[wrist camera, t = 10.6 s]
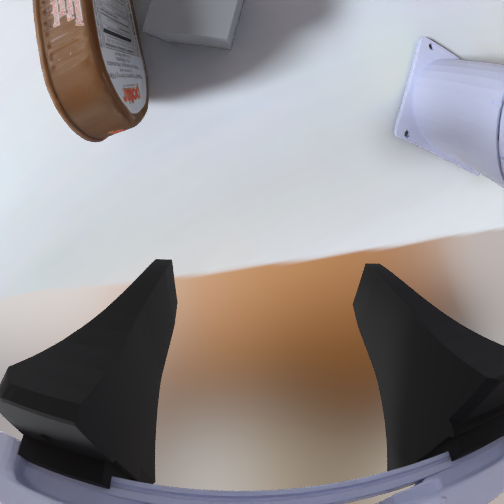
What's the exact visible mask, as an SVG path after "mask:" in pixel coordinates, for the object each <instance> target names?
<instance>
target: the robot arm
mask: <svg viewBox="0 0 504 504" xmlns="http://www.w3.org/2000/svg"><path fill="white" fill-rule="evenodd" d="M429 44H430V45H431V46H432V49H430V48H429ZM405 131H408V135H407V136H406V137H405V135H404V134H405ZM394 134H395V136H396V137H398V138H400V139H403V140H405V141H407V142H410V143H412V144H414V145H417V146H419V147H421V148H423V149H425V150H428V151H430V152H432V153H434V154H436V155H438V156H440V157H442V158H444V159H446V160H448V161H450V162H452V163H454V164H456V165H458V166H460V167H462V168H464V169H466V170H467V171H469V172H471V173H473V174H475V175H479V174H480V173H481V174H482V175H484V176H486V177H487V178H489V179H490V180H492V181H494V182H495V183H497V184H498V185H500V186H501V187H503V188H504V65H501V64H494V63H486V62H477V61H466V60H461V59H460V58H458V57H457V56H455V55H454V54H452V53H451V52H449V51H448V50H446V49H445V48H443V47H442V46H440V45H438V44H437V43H435V42H433V41H432V40H430V39H429V38H427V37H420V38H419V39H418V43H417V47H416V51H415V55H414V59H413V63H412V67H411V71H410V75H409V79H408V82H407V86H406V89H405V93H404V97H403V100H402V103H401V107H400V110H399V113H398V117H397V120H396V123H395V126H394ZM353 307H354V311H355V316H356V320H357V324H358V327H359V330H360V333H361V336H362V338H363V341H364V343H365V346H366V349H367V351H368V354H369V357H370V360H371V362H372V365H373V368H374V371H375V374H376V377H377V381H378V385H379V390H380V395H381V400H382V406H383V412H384V419H385V428H386V437H387V463H388V464H387V472H384V473H380V474H376V475H372V476H368V477H364V478H359V479H354V480H349V481H343V482H338V483H332V484H326V485H319V486H311V487H303V488H293V489H281V490H262V491H218V490H199V489H187V488H177V487H169V486H161V485H154V484H153V483H155V436H156V421H157V407H158V398H159V389H160V382H161V377H162V373H163V369H164V365H165V361H166V357H167V353H168V349H169V345H170V341H171V337H172V333H173V329H174V324H175V317H176V309H177V297H176V289H175V281H174V273H173V265H172V260H163V259H156V260H155V261H154V262H153V263H152V264H150V265H149V267H148V268H147V269H146V270H145V271H144V272H143V273H142V274H141V275H140V276H139V277H138V278H137V279H136V280H135V281H134V282H133V283H132V284H131V285H130V286H129V287H128V288H127V289H126V290H125V291H124V292H123V293H122V294H121V295H120V296H119V297H118V298H117V299H116V300H115V301H113V302H112V303H111V304H110V305H109V306H108V307H107V308H106V309H105V310H104V311H102V312H101V313H100V314H99V315H97V316H96V317H95V318H94V319H92V320H91V321H90V322H89V323H87V324H86V325H84V326H83V327H82V328H80V329H79V330H77V331H76V332H74V333H73V334H71V335H70V336H68V337H67V338H65V339H64V340H62V341H60V342H59V343H57V344H56V345H54V346H52V347H50V348H48V349H46V350H44V351H43V352H41V353H39V354H37V355H35V356H33V357H30V358H28V359H26V360H24V361H21V362H19V363H17V364H14V365H12V366H9V367H8V369H7V371H6V373H5V375H4V377H3V379H2V381H1V384H0V413H1V414H2V415H3V416H4V417H5V418H6V419H7V420H8V421H9V422H10V423H11V424H12V425H13V426H14V427H16V428H17V429H18V430H19V431H20V432H21V433H22V434H23V438H22V441H19V440H17V439H16V438H14V437H12V436H10V435H8V434H6V433H4V432H2V431H0V504H343V503H348V502H353V501H358V500H362V499H366V498H370V497H374V496H377V495H382V494H385V493H388V492H392V491H395V490H398V489H401V488H404V487H408V486H411V485H413V484H415V485H414V486H413V487H411V488H409V489H406V490H404V491H401V492H398V493H395V494H394V495H392V496H391V497H389V498H387V499H385V500H383V501H381V502H379V503H376V504H488V503H490V502H491V501H492V500H494V499H495V498H496V497H497V496H499V495H500V494H501V493H503V492H504V346H503V345H500V344H498V343H496V342H494V341H491V340H489V339H487V338H485V337H483V336H481V335H479V334H477V333H475V332H473V331H471V330H470V329H468V328H466V327H464V326H463V325H461V324H459V323H458V322H456V321H455V320H453V319H452V318H450V317H449V316H447V315H446V314H444V313H443V312H441V311H440V310H439V309H437V308H436V307H434V306H433V305H432V304H431V303H429V302H428V301H426V300H425V299H424V298H423V297H421V296H420V295H419V294H418V293H416V292H415V291H414V290H413V289H412V288H410V287H409V286H408V285H406V284H405V283H404V282H403V281H402V280H400V279H399V278H398V277H397V276H395V275H394V274H393V273H392V272H390V271H389V270H388V269H386V268H385V267H383V266H382V265H380V264H365V267H364V271H363V274H362V277H361V280H360V284H359V287H358V290H357V293H356V296H355V299H354V302H353Z"/></svg>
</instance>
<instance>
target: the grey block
mask: <svg viewBox="0 0 504 504" xmlns="http://www.w3.org/2000/svg"><path fill="white" fill-rule="evenodd" d="M243 3H244V0H150V4H149V7H148V11H147V14H146V18H145V22H144V26H143V30H142V31H144V32H146V33H148V34H151V35H153V36H155V37H157V38H159V39H161V40H164V41H166V42H173V43H184V44H193V45H201V46H209V47H216V48H222V49H228V50H231V47H232V43H233V39H234V35H235V32H236V28H237V24H238V21H239V17H240V13H241V10H242V6H243Z"/></svg>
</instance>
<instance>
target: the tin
mask: <svg viewBox="0 0 504 504" xmlns="http://www.w3.org/2000/svg"><path fill="white" fill-rule="evenodd" d="M33 11H34V22H35V29H36V38H37V44H38V50H39V56H40V62H41V68H42V72H43V76H44V80H45V84H46V87H47V90H48V92H49V95H50V97H51V99H52V101H53V103H54V105H55V107H56V109H57V111H58V112H59V114H60V115H61V117H62V118H63V119H64V121H65V122H66V123H67V124H68V126H69V127H70V128H71V129H72V130H73V131H74V132H75V133H76V134H77V135H79V136H80V137H82V138H83V139H85V140H87V141H91V142H100V141H103V140H104V139H106V138H107V137H108V136H111V135H113V134H116V133H119V132H122V131H125V130H127V129H130V128H132V127H135V126H136V125H138V124H139V123H140V121H141V120H142V119H143V117H144V116H145V114H146V112H147V109H148V81H147V74H146V68H145V63H144V59H143V54H142V50H141V45H140V40H139V35H138V30H137V25H136V20H135V15H134V10H133V5H132V0H33Z"/></svg>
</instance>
